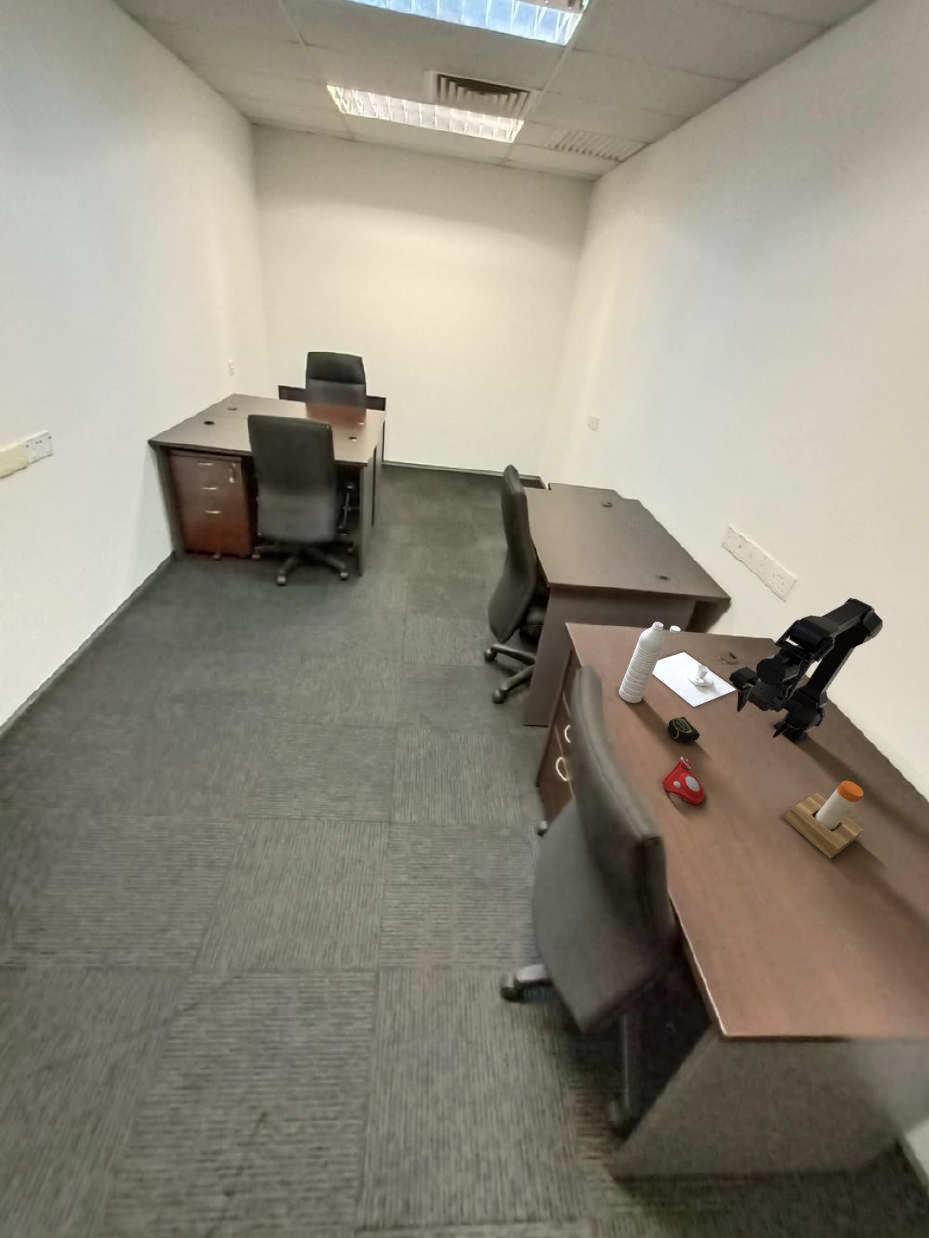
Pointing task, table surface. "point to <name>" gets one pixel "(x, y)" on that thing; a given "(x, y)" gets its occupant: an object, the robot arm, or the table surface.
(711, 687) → the teacup and saucer
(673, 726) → the tape measure
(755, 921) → the table surface
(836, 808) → the glue stick
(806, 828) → the holder
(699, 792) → the tracker holder
